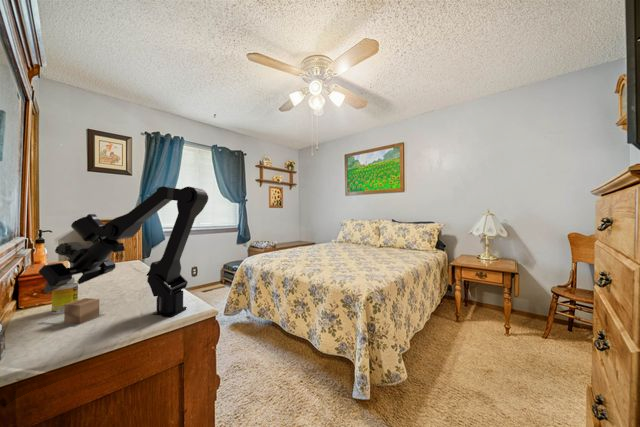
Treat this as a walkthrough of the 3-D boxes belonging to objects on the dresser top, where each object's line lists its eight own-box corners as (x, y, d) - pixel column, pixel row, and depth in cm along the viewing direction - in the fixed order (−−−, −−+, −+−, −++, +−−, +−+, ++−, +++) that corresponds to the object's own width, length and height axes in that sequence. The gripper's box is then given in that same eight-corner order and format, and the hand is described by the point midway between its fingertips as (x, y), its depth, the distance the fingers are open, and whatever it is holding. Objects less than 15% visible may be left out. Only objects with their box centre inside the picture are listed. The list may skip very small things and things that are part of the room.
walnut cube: (99, 316, 70) (99, 299, 70) (79, 323, 65) (79, 305, 65) (84, 315, 71) (84, 298, 71) (64, 322, 66) (64, 304, 66)
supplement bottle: (76, 311, 74) (76, 278, 74) (49, 316, 71) (49, 281, 71) (79, 306, 79) (79, 275, 79) (53, 310, 75) (54, 277, 75)
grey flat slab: (106, 315, 71) (106, 314, 71) (74, 328, 63) (74, 326, 63) (71, 313, 73) (71, 311, 73) (37, 325, 65) (37, 323, 65)
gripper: (107, 231, 84) (76, 262, 84) (45, 236, 65) (5, 276, 66) (129, 254, 84) (98, 285, 84) (73, 265, 65) (33, 305, 65)
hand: (63, 287), depth 75 cm, fingers open, 9 cm apart
